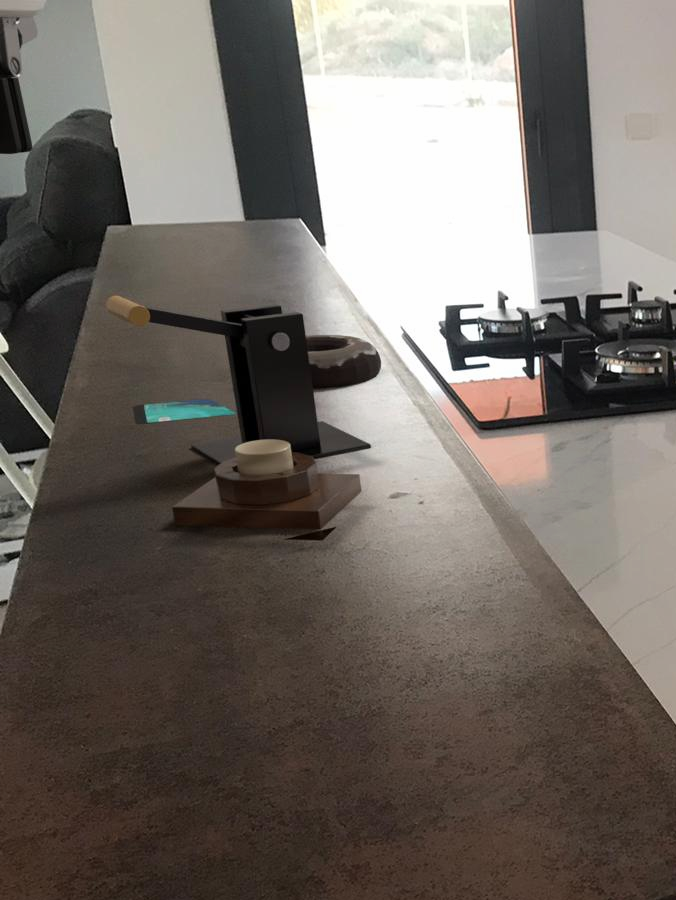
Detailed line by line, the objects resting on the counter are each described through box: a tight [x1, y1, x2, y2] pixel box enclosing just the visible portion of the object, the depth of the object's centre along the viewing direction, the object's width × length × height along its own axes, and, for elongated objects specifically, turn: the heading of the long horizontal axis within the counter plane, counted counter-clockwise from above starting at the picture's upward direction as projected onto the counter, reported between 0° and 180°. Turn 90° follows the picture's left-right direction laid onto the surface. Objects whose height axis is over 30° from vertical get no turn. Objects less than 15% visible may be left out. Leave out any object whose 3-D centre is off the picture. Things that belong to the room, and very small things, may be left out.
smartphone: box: [132, 398, 237, 425], centre depth 115 cm, size 7×1×15 cm
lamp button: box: [235, 439, 294, 475], centre depth 89 cm, size 4×4×2 cm
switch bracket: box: [190, 303, 372, 466], centre depth 101 cm, size 11×9×12 cm
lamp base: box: [171, 452, 362, 542], centre depth 90 cm, size 10×8×4 cm
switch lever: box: [105, 295, 254, 347], centre depth 96 cm, size 12×5×2 cm, turn 134°
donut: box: [306, 334, 382, 390], centre depth 125 cm, size 12×12×4 cm
